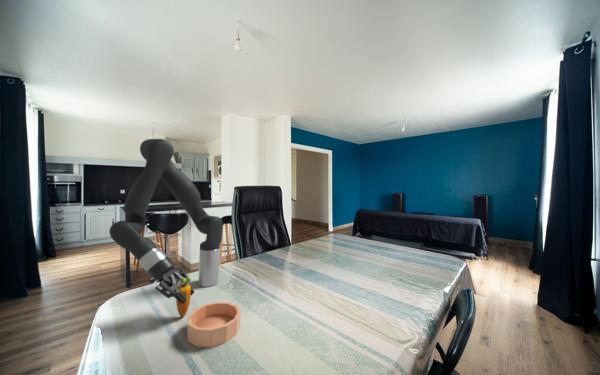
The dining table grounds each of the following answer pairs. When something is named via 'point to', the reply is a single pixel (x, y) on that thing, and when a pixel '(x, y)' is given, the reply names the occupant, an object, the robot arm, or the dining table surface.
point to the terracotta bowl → (213, 324)
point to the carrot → (186, 292)
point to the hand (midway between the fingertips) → (188, 297)
